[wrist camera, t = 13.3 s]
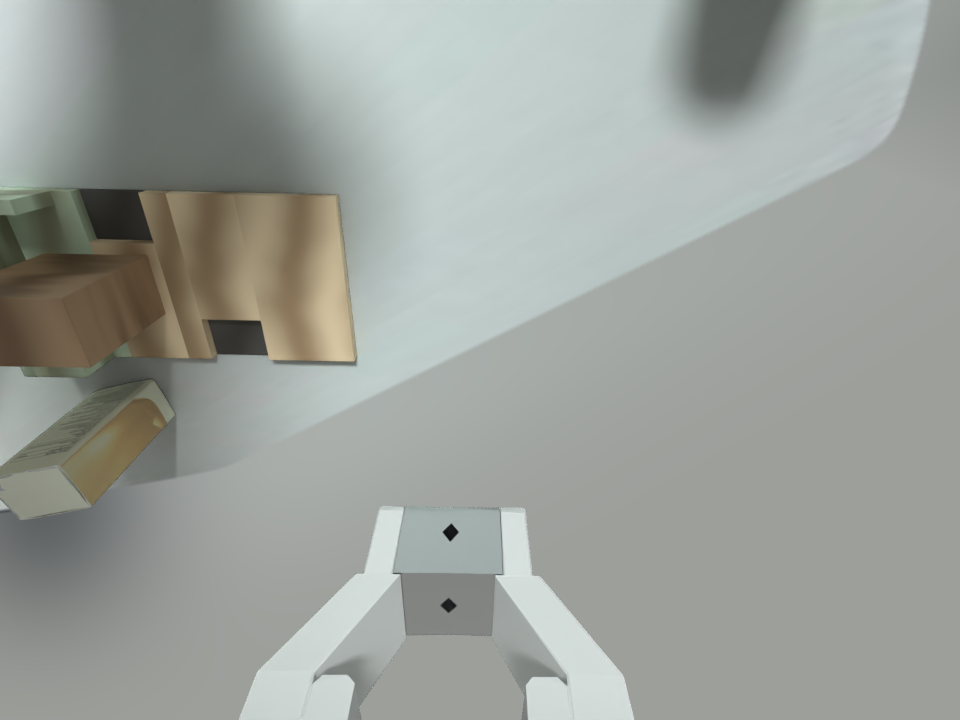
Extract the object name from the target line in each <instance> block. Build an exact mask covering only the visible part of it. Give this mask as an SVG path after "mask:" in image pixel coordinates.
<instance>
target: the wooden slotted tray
mask: <svg viewBox="0 0 960 720" xmlns="http://www.w3.org/2000/svg"><path fill="white" fill-rule="evenodd" d="M44 253H54V254H103V255H147V257H148V260H149V263H150V266H151V269H152V272H153V275H154V278H155V281H156V285H157V288H158V291H159V294H160V297H161V300H162V303H163V306H164V309H165V313H166V314H165V315H163V316H162V317H161V318H159V319H158V320H157V321H155V322H154V323H152V324H151V325H150V326H148V327H147V328H145V329H144V330H143V331H141V332H140V333H138V334H137V335H136V336H134V337H133V338H131V339H130V340H129V341H127V342H126V343H124V344H123V345H122V346H120V347H119V348H117V349H116V350H115V351H113V352H112V353H111V354H109V355H108V356H106V357H105V358H104V359H102V360H101V361H99V362H98V363H97V364H95V365H94V366H92V367H91V368H76V367H20V368H21V370H22V372H23V374H24V376H28V377H81V378H87V377H88V376H90V375H91V374H92V373H94V372H95V371H96V370H98V369H99V368H101V367H102V366H103V365H105V364H106V363H107V362H109V361H110V360H111V359H113V358H114V357H147V358H199V359H213V357H214V356H215V355H216V354H250V355H268V356H269V360H304V361H355V359H356V357H357V352H356V343H355V335H354V326H353V317H352V309H351V300H350V291H349V283H348V274H347V266H346V257H345V248H344V240H343V231H342V222H341V214H340V205H339V197H338V195H325V194H282V193H238V192H195V191H151V190H108V189H64V188H21V187H0V270H2V269H4V268H7V267H10V266H12V265H15V264H18V263H20V262H23V261H26V260H28V259H31V258H33V257H36V256H39V255H41V254H44Z"/></svg>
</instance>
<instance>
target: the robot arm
mask: <svg viewBox="0 0 960 720" xmlns="http://www.w3.org/2000/svg"><path fill="white" fill-rule="evenodd" d="M448 634H449V635H473V636H492V639H493V641H494V643H495V645H496V647H497V648H498V650H499V652H500V654H501V655H502V657H503V659H504V661H505V662H506V664H507V666H508V668H509V670H510V671H511V673H512V675H513V677H514V678H515V680H516V682H517V684H518V685H519V687H520V689H521V691H522V692H523V694H524V704H523V712H522V720H634V717H633V713H632V709H631V705H630V701H629V697H628V693H627V689H626V685H625V681H624V676H623V675H622V674H621V673H620V671H619V670H618V669H617V668H616V667H615V665H614V664H613V663H612V662H611V661H610V659H609V658H608V657H607V656H606V655H605V653H604V652H603V651H602V650H601V649H600V647H599V646H598V645H597V644H596V643H595V642H594V640H593V639H592V638H591V637H590V635H589V634H588V633H587V632H586V631H585V629H584V628H583V627H582V626H581V625H580V624H579V622H578V621H577V620H576V619H575V617H574V616H573V615H572V614H571V613H570V612H569V610H568V609H567V608H566V607H565V605H564V604H563V603H562V602H561V601H560V599H559V598H558V597H557V596H556V595H555V593H554V592H553V591H552V590H551V589H550V587H549V586H548V585H547V584H546V583H545V581H544V580H543V579H542V578H541V577H540V576H533V575H532V566H531V557H530V547H529V540H528V530H527V521H526V512H525V510H524V508H500V509H499V508H454V507H453V508H440V507H439V508H437V507H413V506H406V507H403V506H381V508H380V509H379V511H378V515H377V518H376V523H375V527H374V531H373V535H372V539H371V543H370V547H369V551H368V556H367V560H366V564H365V568H364V572H363V574H355V575H354V576H353V577H352V578H351V579H350V580H349V581H348V582H347V583H346V584H345V585H344V586H343V587H342V588H341V589H340V590H339V591H338V592H337V593H336V594H335V595H334V596H333V597H332V598H331V599H330V600H329V601H328V602H327V603H326V604H325V605H324V606H323V607H322V608H321V609H320V610H319V611H318V612H317V613H316V614H315V615H314V616H313V617H312V618H311V619H310V620H309V621H308V622H307V623H306V624H305V625H304V626H303V627H302V628H301V629H300V630H299V631H298V632H297V633H296V634H295V635H294V636H293V637H292V638H291V639H290V640H289V641H288V642H287V643H285V645H283V647H282V648H280V650H279V651H278V652H277V653H276V654H274V655H273V656H272V657H271V659H269V660H268V661H267V662H266V663H265V664H264V666H263V667H262V668H260V669H259V670H258V672H257V675H256V677H255V679H254V682H253V685H252V687H251V690H250V692H249V695H248V697H247V700H246V703H245V705H244V708H243V711H242V713H241V716H240V718H239V720H361V714H360V709H359V706H360V705H361V703H362V702H363V700H364V699H365V698H366V696H367V695H368V693H369V692H370V690H371V689H372V687H373V686H374V684H375V683H376V681H377V680H378V679H379V677H380V676H381V674H382V673H383V671H384V670H385V668H386V667H387V665H388V664H389V662H390V661H391V660H392V658H393V657H394V655H395V654H396V652H397V651H398V649H399V648H400V646H401V645H402V644H403V642H404V640H405V639H406V635H448Z"/></svg>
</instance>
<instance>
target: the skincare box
mask: <svg viewBox="0 0 960 720" xmlns="http://www.w3.org/2000/svg"><path fill="white" fill-rule="evenodd" d="M174 416H175V413H174V411H173V410H172V408H171V406H170V404H169V403H168V401H167V399H166V398H165V396H164V395H163V393H162V391H161V390H160V388H159V387H158V385H157V384H156V382H155V381H154V380H153V379H150V380H144V381H138V382H133V383H128V384H124V385H119V386H114V387H110V388H106V389H102V390H98V391H95V392H93V393H92V394H91V395H90V396H88V397H87V398H86V399H85V400H83V401H82V402H81V403H80V404H78V405H77V406H76V407H75V408H73V409H72V410H71V411H70V412H68V413H67V414H66V415H65V416H63V417H62V418H61V419H60V420H58V421H57V422H56V423H55V424H53V425H52V426H51V427H50V428H48V429H47V430H46V431H45V432H43V433H42V434H41V435H40V436H38V437H37V438H36V439H35V440H33V441H32V442H31V443H29V444H28V445H27V446H26V447H24V448H23V449H22V450H21V451H19V452H18V453H17V454H16V455H14V456H13V457H12V458H11V459H9V460H8V461H7V462H6V463H5V464H3V465H2V466H1V467H0V499H1V500H2V501H3V503H4V504H5V505H6V506H7V507H8V508H9V509H10V510H11V511H12V512H13V513H14V514H15V515H16V516H17V517H18V518H19V519H20V520H26V519H33V518H40V517H46V516H51V515H56V514H61V513H66V512H71V511H76V510H81V509H85V508H90V507H91V506H92V505H93V504H94V503H95V502H96V501H97V500H98V499H99V498H100V496H102V494H103V493H104V492H105V491H106V490H107V489H108V488H109V487H110V486H111V485H112V484H113V482H114V481H115V480H116V479H117V478H118V477H119V476H120V475H121V474H122V473H123V472H124V470H125V469H126V468H127V467H128V466H129V465H130V464H131V463H132V462H133V461H134V460H135V458H136V457H137V456H138V455H139V454H140V453H141V452H142V451H143V450H144V449H145V447H146V446H147V445H148V444H149V443H150V442H151V441H152V440H153V439H154V438H155V437H156V435H157V434H158V433H159V432H160V431H161V430H162V429H163V428H164V427H165V426H166V425H167V424H168V422H169V421H170V420H171V419H172V418H173V417H174Z"/></svg>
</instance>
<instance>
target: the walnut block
mask: <svg viewBox="0 0 960 720" xmlns="http://www.w3.org/2000/svg"><path fill="white" fill-rule="evenodd" d="M165 314H166V313H165V309H164V306H163V303H162V300H161V297H160V294H159V291H158V288H157V285H156V281H155V278H154V275H153V272H152V269H151V266H150V263H149V260H148V257H147V255H103V254H54V253H44V254H41V255H39V256H36V257H33V258H31V259H28V260H26V261H23V262H20V263H18V264H15V265H12V266H10V267H7V268H4V269H2V270H0V366H20V367H76V368H91V367H92V366H94V365H95V364H97V363H98V362H99V361H101V360H102V359H104V358H105V357H106V356H108V355H109V354H111V353H112V352H113V351H115V350H116V349H117V348H119V347H120V346H122V345H123V344H124V343H126V342H127V341H129V340H130V339H131V338H133V337H134V336H136V335H137V334H138V333H140V332H141V331H143V330H144V329H145V328H147V327H148V326H150V325H151V324H152V323H154V322H155V321H157V320H158V319H159V318H161V317H162V316H163V315H165Z"/></svg>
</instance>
